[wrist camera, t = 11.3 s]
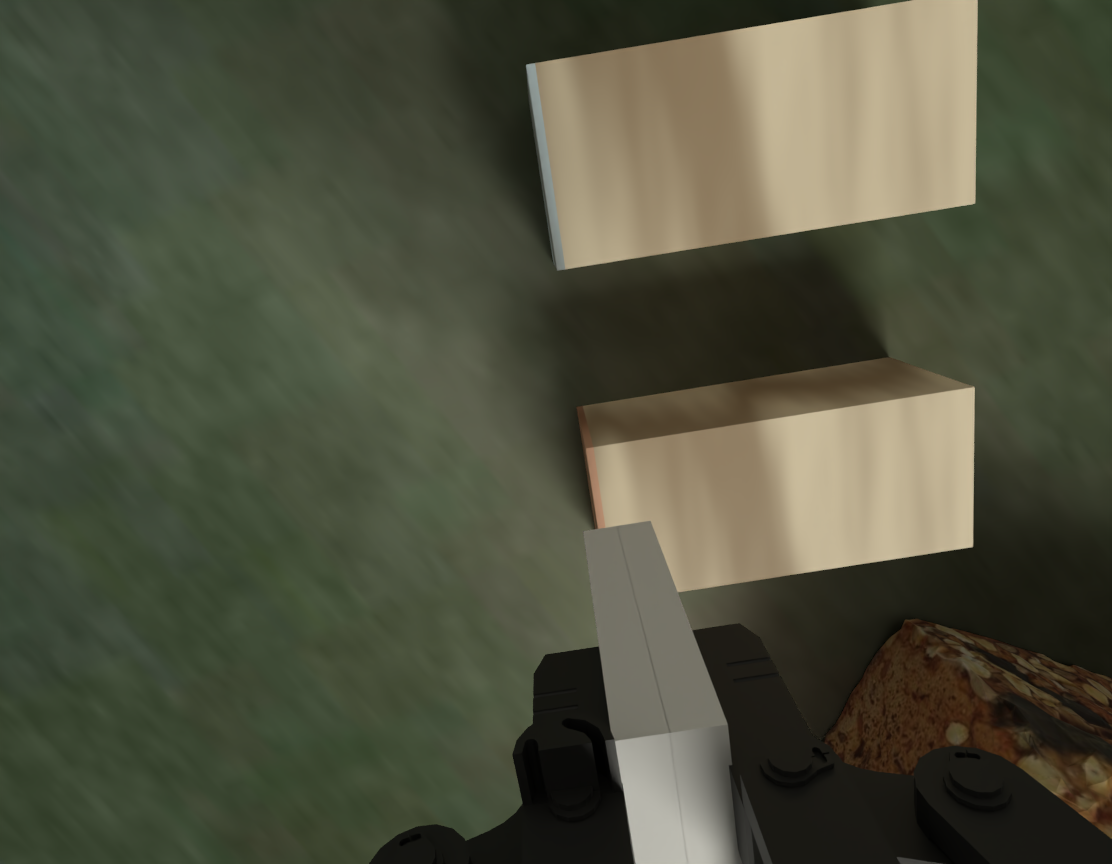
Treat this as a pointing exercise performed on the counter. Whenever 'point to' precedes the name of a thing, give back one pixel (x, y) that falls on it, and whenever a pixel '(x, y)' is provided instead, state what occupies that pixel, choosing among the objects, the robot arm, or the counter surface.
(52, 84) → the counter surface
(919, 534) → the light wood tall block
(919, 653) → the bread
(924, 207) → the light wood rectangular bar
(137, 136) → the counter surface
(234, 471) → the counter surface
